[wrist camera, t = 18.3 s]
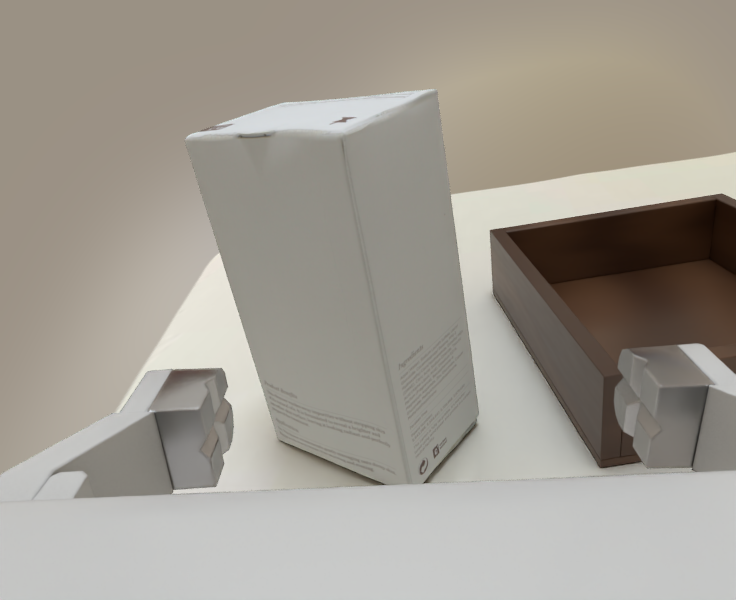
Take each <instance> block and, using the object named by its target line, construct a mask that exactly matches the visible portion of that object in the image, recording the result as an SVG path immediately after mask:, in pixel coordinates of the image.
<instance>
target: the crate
mask: <svg viewBox="0 0 736 600" xmlns="http://www.w3.org/2000/svg"><path fill="white" fill-rule="evenodd" d="M490 243H491V262H492V281H493V294H494V295H495V297H496V299H497V300H498V302H499V303H500V305H501V307H502V308H503V310H504V312H505V313H506V315H507V316H508V318H509V320H510V321H511V323H512V325H513V326H514V328H515V329H516V331H517V333H518V334H519V336H520V338H521V339H522V341H523V342H524V344H525V346H526V347H527V349H528V351H529V352H530V354H531V355H532V357H533V359H534V360H535V362H536V364H537V365H538V367H539V368H540V370H541V372H542V373H543V375H544V377H545V378H546V380H547V381H548V383H549V385H550V386H551V388H552V389H553V391H554V393H555V394H556V396H557V398H558V399H559V401H560V402H561V404H562V406H563V407H564V409H565V411H566V412H567V414H568V415H569V417H570V419H571V420H572V422H573V424H574V425H575V427H576V428H577V430H578V432H579V433H580V435H581V437H582V438H583V440H584V441H585V443H586V445H587V446H588V448H589V450H590V451H591V453H592V454H593V456H594V458H595V459H596V461H597V463H598V464H599V466H600V467H607V466H614V465H620V464H626V463H632V462H639V461H642V460H641V459H640V457H639V456H638V454H637V452H636V451H635V449H634V448H633V439H634V437H632V436H630V435H628V434H626V433H625V432H623V430H622V428H621V427H620V425H619V423H618V420H617V418H616V415H615V407H614V394H615V387H616V385H617V384H618V383H619V382H620V381H621V380H622V379H623V378H624V376H623V375H622V374H621V372H620V371H619V369H618V361H619V356H620V353H621V351H622V349H627V348H640V347H654V346H667V345H683V344H694V343H699V344H702V345H704V346H705V347H707V348H708V349H709V350H710V351H711V352H712V353H713V354H714V355H715V356H716V357H717V358H718V359H719V360H721V361H722V362H723V363H724V364H725V365H726V366H727V367H728V368H729V369H730V370H731V371H732V372H733V373H734V374H736V200H735V199H733V198H731V197H728V196H726V195H724V194H716V195H711V196H704V197H697V198H691V199H685V200H678V201H672V202H666V203H659V204H653V205H647V206H640V207H634V208H628V209H621V210H615V211H609V212H602V213H596V214H590V215H583V216H577V217H571V218H564V219H558V220H552V221H545V222H539V223H533V224H526V225H520V226H514V227H507V228H503V229H502V228H500V229H494V230H490Z"/></svg>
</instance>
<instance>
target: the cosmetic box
mask: <svg viewBox="0 0 736 600" xmlns="http://www.w3.org/2000/svg"><path fill="white" fill-rule="evenodd" d="M185 144H186V147H187V150H188V153H189V156H190V159H191V162H192V166H193V169H194V172H195V175H196V178H197V181H198V185H199V188H200V192H201V194H202V198H203V201H204V204H205V207H206V210H207V213H208V216H209V220H210V223H211V226H212V229H213V232H214V236H215V239H216V242H217V245H218V248H219V252H220V255H221V258H222V261H223V264H224V268H225V271H226V274H227V277H228V281H229V284H230V287H231V290H232V293H233V296H234V300H235V303H236V306H237V309H238V312H239V316H240V319H241V322H242V325H243V328H244V331H245V335H246V338H247V341H248V344H249V347H250V351H251V354H252V357H253V360H254V363H255V366H256V370H257V373H258V376H259V379H260V382H261V386H262V389H263V392H264V396H265V399H266V402H267V405H268V408H269V411H270V414H271V418H272V421H273V424H274V427H275V431H276V434H277V438H278V439H279V440H281V441H283V442H285V443H288V444H290V445H293V446H295V447H297V448H300V449H302V450H305V451H307V452H310V453H312V454H314V455H317V456H319V457H321V458H324V459H326V460H328V461H331V462H333V463H335V464H338V465H340V466H342V467H345V468H347V469H350V470H352V471H354V472H357V473H359V474H361V475H364V476H366V477H369V478H371V479H374V480H376V481H379V482H381V483H384V484H386V485H401V484H423V483H424V482H425V481H426V479H427V478H428V477H429V475H430V474H431V473H432V472H433V470H434V469H435V468H436V467H437V466H438V465H439V464H440V463H441V461H442V460H443V459H444V458H445V457H446V456H447V455H448V454H449V453H450V452H451V451H452V450H453V449H454V448H455V447H456V445H457V444H458V443H459V442H460V441H461V439H463V437H464V436H465V435H466V434H467V433H468V432H469V430H470V429H471V428H472V427H473V426H474V425H475V423H476V421H477V416H478V414H479V410H478V402H477V395H476V386H475V378H474V370H473V363H472V354H471V346H470V339H469V332H468V324H467V317H466V309H465V301H464V293H463V285H462V278H461V271H460V263H459V255H458V247H457V239H456V232H455V224H454V217H453V210H452V203H451V194H450V186H449V179H448V172H447V164H446V157H445V149H444V141H443V134H442V126H441V119H440V111H439V103H438V92H437V90H436V89H432V90H420V91H408V92H398V93H390V94H382V95H374V96H365V97H354V98H344V99H332V100H319V101H307V102H289V103H281V104H278V105H274V106H271V107H268V108H265V109H262V110H259V111H256V112H253V113H250V114H247V115H245V116H242V117H239V118H236V119H233V120H230V121H227V122H225V123H221V124H218V125H216V126H213V127H210V128H207V129H204V130H202V131H199V132H196V133H193V134H191V135H189V136H187V137H186V138H185Z"/></svg>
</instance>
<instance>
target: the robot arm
mask: <svg viewBox="0 0 736 600" xmlns="http://www.w3.org/2000/svg"><path fill="white" fill-rule="evenodd" d="M618 369H619V371H620V372H621V374H622V375H623V376H624V378H623V379H622V380H621V381H620V382H619V383H618V384H617V385H616V387H615V394H614V407H615V415H616V418H617V420H618V423H619V425H620V427H621V428H622V430H623V432H625V433H626V434H628V435H630V436H632V437H634V439H633V448H634V449H635V451H636V452H637V454H638V456H639V457H640V459H641V460H642V462H643V463H644V465H645V466H646V468H692V470H694V471H695V472H682V473H659V474H636V475H612V476H589V477H566V478H542V479H519V480H496V481H472V482H448V483H425V484H401V485H378V486H354V487H330V488H307V489H283V490H260V491H236V492H212V493H189V494H172V493H173V490H178V489H192V488H206V487H216V486H217V483H218V480H219V478H220V475H221V472H222V469H223V466H224V460H223V454H224V453H225V452H227V451H228V450H229V449H230V446H231V442H232V437H233V428H234V425H233V413H232V407H231V404H230V403H229V402H228V401H227V400H226V399H225V398H224V395H225V393H226V390H227V388H228V385H227V380H226V376H225V372H224V371H223V369H222V368H205V369H175V370H173V369H166V370H153V371H148V372H147V373H146V374H145V376H144V377H143V379H142V380H141V382H140V383H139V385H138V386H137V388H136V389H135V390H134V392H133V393H132V395H131V396H130V398H129V399H128V401H127V402H126V404H125V405H124V407H123V408H122V410H121V411H120V413H112V414H110V415H108V416H106V417H104V418H103V419H101V420H99V421H97V422H95V423H93V424H91V425H90V426H88V427H86V428H84V429H82V430H80V431H79V432H77V433H75V434H73V435H71V436H69V437H67V438H66V439H64V440H62V441H60V442H58V443H56V444H55V445H53V446H51V447H49V448H47V449H46V450H44V451H42V452H40V453H38V454H36V455H34V456H32V457H31V458H29V459H27V460H25V461H23V462H21V463H20V464H18V465H16V466H14V467H12V468H10V469H9V470H7V471H5V472H3V473H2V474H1V475H0V600H736V374H734V373H733V372H732V371H731V370H730V369H729V368H728V367H727V366H726V365H725V364H724V363H723V362H722V361H721V360H719V359H718V358H717V357H716V356H715V355H714V354H713V353H712V352H711V351H710V350H709V349H708V348H707V347H705V346H704V345H702V344H699V343H694V344H683V345H667V346H654V347H640V348H627V349H622V351H621V353H620V356H619V361H618Z"/></svg>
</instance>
